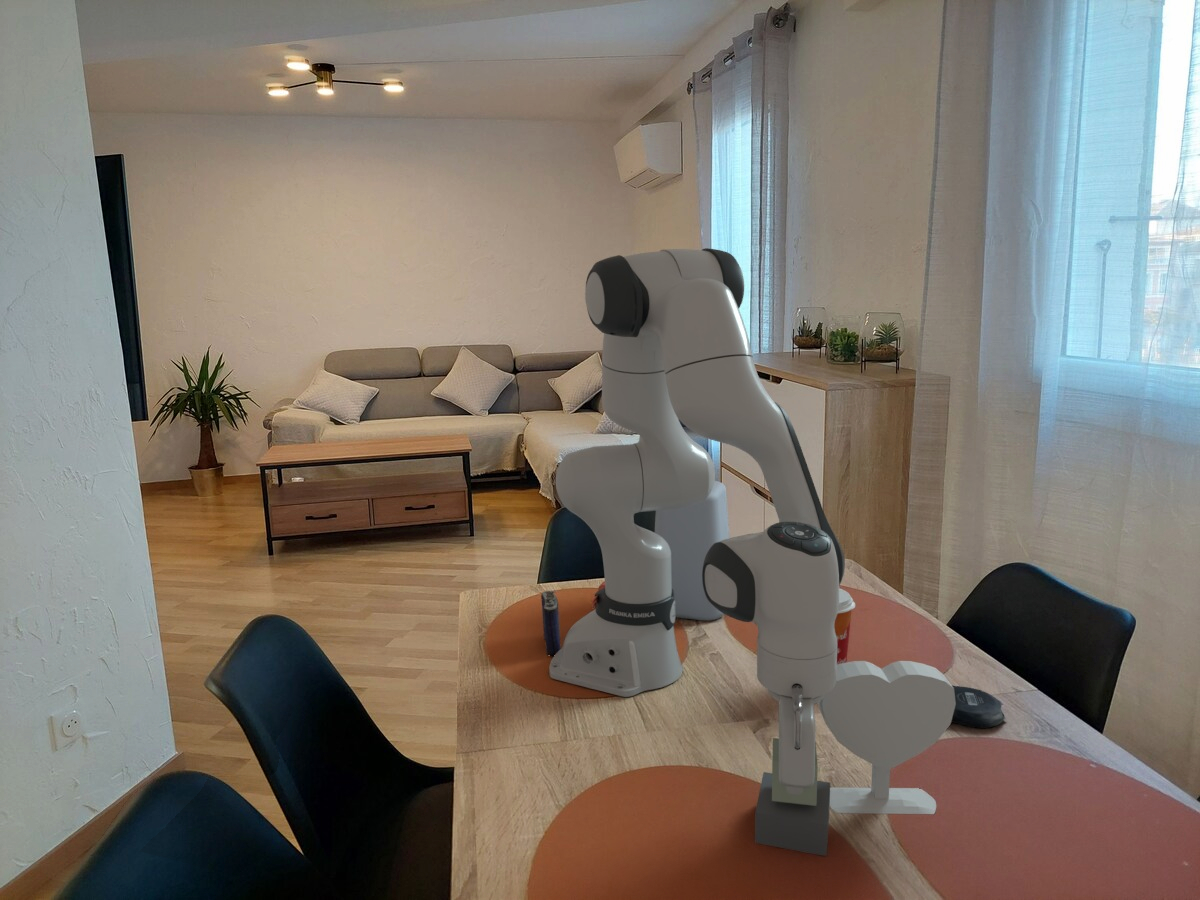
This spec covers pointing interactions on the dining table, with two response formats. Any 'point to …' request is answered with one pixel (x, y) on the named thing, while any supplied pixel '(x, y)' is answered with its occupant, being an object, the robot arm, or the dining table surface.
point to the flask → (551, 622)
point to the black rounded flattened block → (976, 708)
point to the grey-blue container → (693, 549)
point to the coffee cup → (843, 625)
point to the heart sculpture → (887, 728)
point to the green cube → (780, 790)
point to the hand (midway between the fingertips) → (793, 773)
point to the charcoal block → (792, 820)
